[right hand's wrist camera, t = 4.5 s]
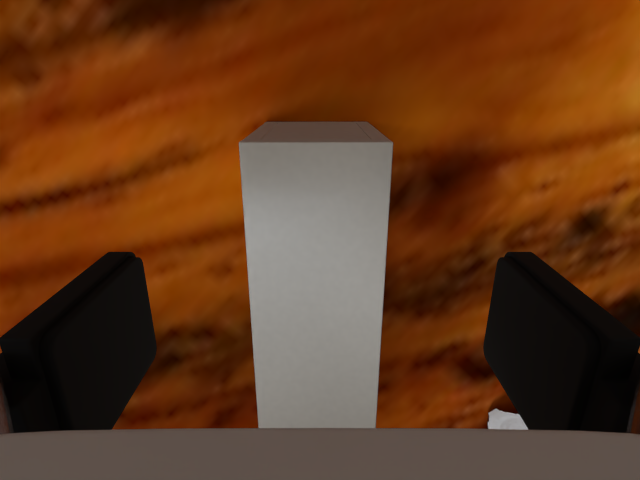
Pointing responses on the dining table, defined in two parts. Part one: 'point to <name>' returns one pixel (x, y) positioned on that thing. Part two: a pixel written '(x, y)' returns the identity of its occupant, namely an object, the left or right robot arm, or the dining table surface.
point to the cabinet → (316, 269)
